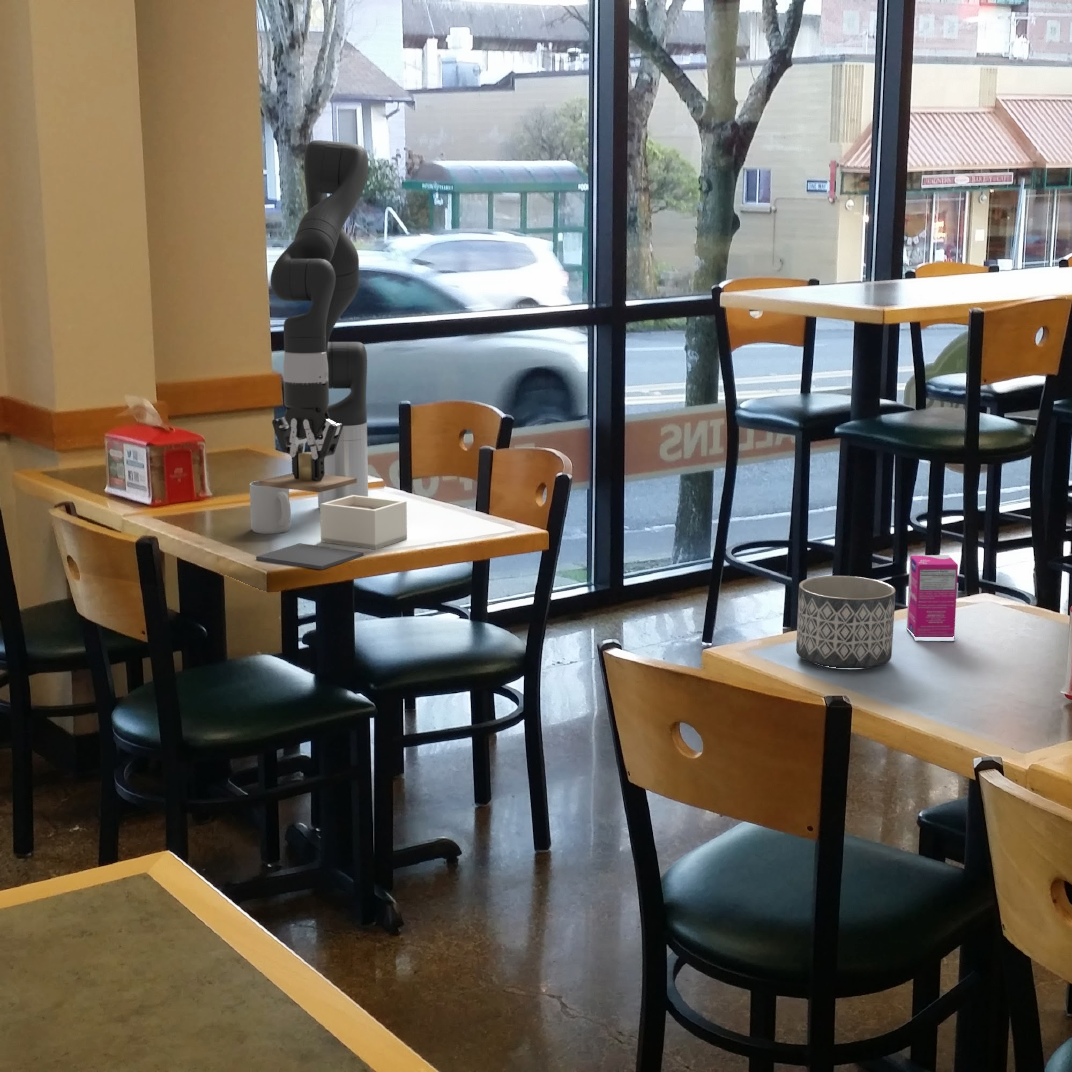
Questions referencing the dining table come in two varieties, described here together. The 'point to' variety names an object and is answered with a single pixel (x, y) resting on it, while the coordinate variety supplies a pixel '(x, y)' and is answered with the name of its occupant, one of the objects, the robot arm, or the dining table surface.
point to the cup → (269, 509)
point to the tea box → (363, 521)
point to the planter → (845, 621)
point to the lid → (307, 478)
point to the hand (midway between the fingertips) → (308, 478)
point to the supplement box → (932, 595)
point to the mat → (310, 556)
